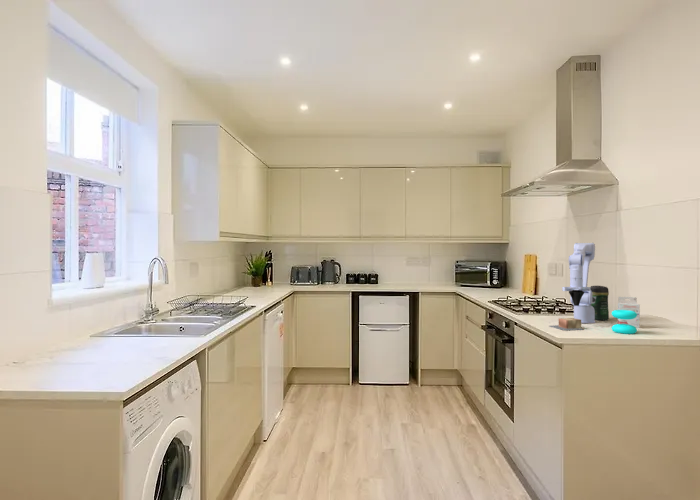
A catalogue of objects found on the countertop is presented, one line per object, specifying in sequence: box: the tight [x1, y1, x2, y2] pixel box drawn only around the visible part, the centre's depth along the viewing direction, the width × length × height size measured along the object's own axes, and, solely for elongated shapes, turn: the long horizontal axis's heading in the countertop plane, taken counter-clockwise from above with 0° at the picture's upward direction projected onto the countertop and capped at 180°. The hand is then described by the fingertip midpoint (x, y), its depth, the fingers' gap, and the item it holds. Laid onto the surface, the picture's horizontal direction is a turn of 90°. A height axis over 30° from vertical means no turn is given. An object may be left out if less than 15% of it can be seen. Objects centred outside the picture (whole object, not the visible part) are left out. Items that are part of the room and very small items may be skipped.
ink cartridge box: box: [617, 296, 641, 329], centre depth 217 cm, size 9×5×15 cm, turn 71°
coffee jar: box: [589, 285, 610, 321], centre depth 241 cm, size 10×8×19 cm
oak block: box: [558, 317, 582, 329], centre depth 215 cm, size 4×6×8 cm
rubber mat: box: [549, 324, 584, 331], centre depth 215 cm, size 10×12×1 cm
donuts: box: [611, 309, 638, 335], centre depth 203 cm, size 10×10×10 cm
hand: (576, 305), depth 220 cm, fingers closed
